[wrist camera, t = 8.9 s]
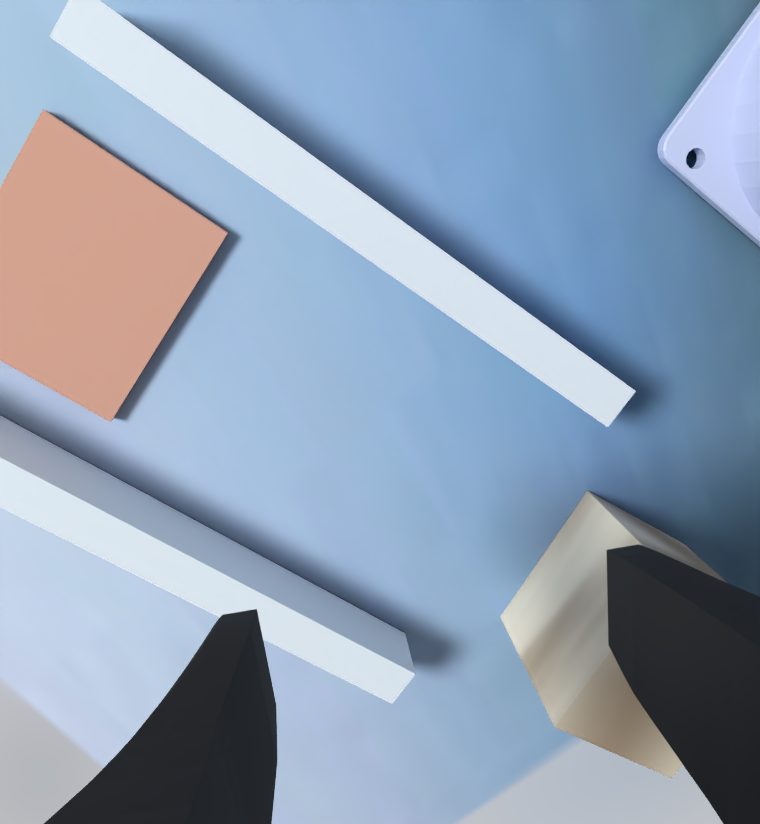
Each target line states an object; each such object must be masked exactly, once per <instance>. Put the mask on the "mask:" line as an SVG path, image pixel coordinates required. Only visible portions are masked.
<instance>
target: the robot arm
mask: <svg viewBox="0 0 760 824" xmlns="http://www.w3.org/2000/svg"><path fill="white" fill-rule="evenodd" d="M691 150H694V151H695V153H696V155H697V161H696V163H695V165H694V166H693V167H692V168H689V167H688V165H687V163H686V157H687V154H688V152H689V151H691ZM657 152H658V156H659V159H660V160H661V162H662V163H663V164H664V165H665V166H666V167H667V168H668V169H670V170H671V171H672V172H673V173H674V174H675V175H677V176H678V177H679V178H680V179H681V180H682V181H684V182H685V183H686V184H687V185H688V186H689V187H690V188H692V189H693V190H694V191H695V192H696V193H697V194H699V195H700V196H701V197H702V198H703V199H704V200H706V201H707V202H708V203H709V204H710V205H711V206H713V207H714V208H715V209H716V210H717V211H718V212H720V213H721V214H722V215H723V216H724V217H725V218H727V219H728V220H729V221H730V222H731V223H732V224H734V225H735V226H736V227H737V228H738V229H739V230H741V231H742V232H743V233H744V234H745V235H746V236H748V237H749V238H750V239H751V240H752V241H753V242H755V243H756V244H757V245H758V246H759V247H760V2H759V4H758V5H757V6H756V8H755V9H754V11H753V12H752V13H751V15H750V16H749V17H748V19H747V20H746V22H745V23H744V24H743V26H742V27H741V28H740V30H739V31H738V33H737V34H736V35H735V37H734V38H733V39H732V41H731V42H730V44H729V45H728V46H727V48H726V49H725V50H724V52H723V53H722V54H721V56H720V57H719V59H718V60H717V61H716V63H715V64H714V65H713V67H712V68H711V70H710V71H709V72H708V74H707V75H706V76H705V78H704V79H703V81H702V82H701V83H700V85H699V86H698V87H697V89H696V90H695V92H694V93H693V94H692V96H691V97H690V98H689V100H688V101H687V102H686V104H685V105H684V107H683V108H682V109H681V111H680V112H679V113H678V115H677V116H676V118H675V119H674V120H673V122H672V123H671V124H670V126H669V127H668V129H667V130H666V131H665V133H664V134H663V135H662V137H661V139H660V141H659V143H658V150H657ZM607 597H608V645H609V647H610V649H611V651H612V653H613V655H614V657H615V659H616V661H617V663H618V665H619V667H620V669H621V671H622V673H623V675H624V677H625V678H626V680H627V682H628V684H629V686H630V688H631V690H632V691H633V693H634V695H635V696H636V698H637V699H638V701H639V702H640V704H641V705H642V707H643V708H644V710H645V711H646V712H647V714H648V715H649V717H650V718H651V720H652V721H653V723H654V724H655V725H656V727H657V728H658V730H659V731H660V733H661V734H662V735H663V737H664V738H665V740H666V741H667V743H668V744H669V745H670V747H671V748H672V750H673V751H674V752H675V754H676V755H677V757H678V758H679V760H680V761H681V762H682V764H683V765H684V766H685V768H686V769H687V771H688V772H689V773H690V775H691V777H692V778H693V779H694V781H695V782H696V784H697V785H698V786H699V788H700V789H701V791H702V792H703V793H704V795H705V796H706V798H707V799H708V801H709V802H710V803H711V805H712V807H713V808H714V810H715V811H716V812H717V814H718V816H719V817H720V819H721V820H722V822H723V823H724V824H760V597H758V596H756V595H754V594H751V593H749V592H747V591H744V590H742V589H740V588H737V587H735V586H733V585H731V584H728V583H726V582H724V581H722V580H719V579H717V578H715V577H713V576H711V575H708V574H706V573H704V572H702V571H700V570H697V569H695V568H693V567H691V566H689V565H687V564H684V563H682V562H680V561H678V560H676V559H673V558H671V557H669V556H667V555H664V554H662V553H660V552H657V551H655V550H653V549H650V548H648V547H645V546H642V545H639V544H638V545H632V546H626V547H620V548H614V549H608V550H607ZM276 768H277V724H276V702H275V697H274V692H273V687H272V682H271V677H270V672H269V667H268V662H267V657H266V652H265V647H264V642H263V637H262V632H261V627H260V622H259V617H258V612H257V609H254V610H248V611H242V612H236V613H230V614H224V615H222V616H221V617H220V618H219V619H218V621H217V622H216V623H215V625H214V626H213V628H212V629H211V631H210V633H209V634H208V636H207V637H206V639H205V640H204V642H203V643H202V645H201V646H200V648H199V649H198V651H197V652H196V654H195V655H194V657H193V658H192V660H191V661H190V663H189V664H188V666H187V667H186V668H185V670H184V671H183V673H182V674H181V675H180V677H179V678H178V680H177V681H176V682H175V684H174V685H173V687H172V688H171V689H170V691H169V692H168V694H167V695H166V696H165V698H164V699H163V700H162V702H161V703H160V704H159V705H158V707H157V708H156V709H155V710H154V711H153V713H152V714H151V715H150V716H149V718H148V719H147V720H146V721H145V723H144V724H143V725H142V726H141V728H140V729H139V730H138V731H137V733H136V734H135V735H134V736H133V737H132V739H131V740H130V741H129V742H128V743H127V744H126V745H125V746H124V748H123V749H122V750H121V751H120V752H119V753H118V754H117V755H116V756H115V757H114V758H113V759H112V760H111V761H110V762H109V763H108V764H107V765H106V766H105V767H104V768H103V770H102V771H101V772H100V773H99V774H98V775H97V776H96V777H95V778H94V779H93V780H92V781H91V782H90V783H89V784H88V785H86V786H85V787H84V788H83V789H82V790H81V791H80V792H79V793H78V794H76V795H75V796H74V797H73V798H72V799H71V800H70V801H69V802H68V803H66V804H65V805H64V806H63V807H62V808H61V809H60V810H59V811H58V812H57V813H55V814H54V815H53V816H52V817H51V818H50V819H49V820H48V821H47V822H45V823H44V824H271V821H272V810H273V800H274V789H275V779H276Z"/></svg>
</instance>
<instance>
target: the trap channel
mask: <svg viewBox="0 0 760 824" xmlns="http://www.w3.org/2000/svg"><path fill="white" fill-rule="evenodd" d="M49 37H51V38H52V39H53V40H55V41H56V42H58V43H59V44H61V45H62V46H63V47H65V48H66V49H68V50H69V51H71V52H72V53H73V54H75V55H76V56H78V57H79V58H81V59H82V60H83V61H85V62H86V63H88V64H89V65H91V66H92V67H93V68H95V69H96V70H98V71H99V72H101V73H102V74H103V75H105V76H106V77H108V78H109V79H111V80H112V81H113V82H115V83H116V84H118V85H119V86H121V87H122V88H123V89H125V90H126V91H128V92H129V93H131V94H132V95H133V96H135V97H136V98H138V99H139V100H141V101H142V102H144V103H145V104H146V105H148V106H149V107H151V108H152V109H154V110H155V111H156V112H158V113H159V114H161V115H162V116H164V117H165V118H166V119H168V120H169V121H171V122H172V123H174V124H175V125H176V126H178V127H179V128H181V129H182V130H184V131H185V132H186V133H188V134H189V135H191V136H192V137H194V138H195V139H196V140H198V141H199V142H201V143H202V144H204V145H205V146H206V147H208V148H209V149H211V150H212V151H214V152H215V153H216V154H218V155H219V156H221V157H222V158H224V159H225V160H226V161H228V162H229V163H231V164H232V165H234V166H235V167H236V168H238V169H239V170H241V171H242V172H244V173H245V174H246V175H248V176H249V177H251V178H252V179H254V180H255V181H256V182H258V183H259V184H261V185H262V186H264V187H265V188H266V189H268V190H269V191H271V192H272V193H274V194H275V195H276V196H278V197H279V198H281V199H282V200H284V201H285V202H286V203H288V204H289V205H291V206H292V207H294V208H295V209H296V210H298V211H299V212H301V213H302V214H304V215H305V216H306V217H308V218H309V219H311V220H312V221H314V222H315V223H316V224H318V225H319V226H321V227H322V228H324V229H325V230H326V231H328V232H329V233H331V234H332V235H334V236H335V237H336V238H338V239H339V240H341V241H342V242H344V243H345V244H346V245H348V246H349V247H351V248H352V249H354V250H355V251H357V252H358V253H359V254H361V255H362V256H364V257H365V258H367V259H368V260H369V261H371V262H372V263H374V264H375V265H377V266H378V267H379V268H381V269H382V270H384V271H385V272H387V273H388V274H389V275H391V276H392V277H394V278H395V279H397V280H398V281H399V282H401V283H402V284H404V285H405V286H407V287H408V288H409V289H411V290H412V291H414V292H415V293H417V294H418V295H419V296H421V297H422V298H424V299H425V300H427V301H428V302H429V303H431V304H432V305H434V306H435V307H437V308H438V309H439V310H441V311H442V312H444V313H445V314H447V315H448V316H449V317H451V318H452V319H454V320H455V321H457V322H458V323H459V324H461V325H462V326H464V327H465V328H467V329H468V330H469V331H471V332H472V333H474V334H475V335H477V336H478V337H479V338H481V339H482V340H484V341H485V342H487V343H488V344H489V345H491V346H492V347H494V348H495V349H497V350H498V351H499V352H501V353H502V354H504V355H505V356H507V357H508V358H509V359H511V360H512V361H514V362H515V363H517V364H518V365H519V366H521V367H522V368H524V369H525V370H527V371H528V372H529V373H531V374H532V375H534V376H535V377H537V378H538V379H539V380H541V381H542V382H544V383H545V384H547V385H548V386H549V387H551V388H552V389H554V390H555V391H557V392H558V393H559V394H561V395H562V396H564V397H565V398H567V399H568V400H570V401H571V402H572V403H574V404H575V405H577V406H578V407H580V408H581V409H582V410H584V411H585V412H587V413H588V414H590V415H591V416H592V417H594V418H595V419H597V420H598V421H600V422H601V423H602V424H604V425H605V426H607V427H608V426H609V425H610V424H611V423H612V421H613V420H614V419H615V417H616V416H617V415H618V414H619V412H620V411H621V410H622V408H623V407H624V406H625V405H626V403H627V402H628V401H629V399H630V398H631V397H632V396H633V394H634V393H635V392H636V391H635V390H634V389H632V388H631V387H630V386H628V385H627V384H625V383H624V382H623V381H621V380H620V379H619V378H617V377H616V376H614V375H613V374H612V373H610V372H609V371H608V370H606V369H605V368H603V367H602V366H601V365H599V364H598V363H597V362H595V361H594V360H592V359H591V358H590V357H588V356H587V355H586V354H584V353H583V352H582V351H580V350H579V349H577V348H576V347H575V346H573V345H572V344H571V343H569V342H568V341H566V340H565V339H564V338H562V337H561V336H560V335H558V334H557V333H555V332H554V331H553V330H551V329H550V328H549V327H547V326H546V325H544V324H543V323H542V322H540V321H539V320H538V319H536V318H535V317H533V316H532V315H531V314H529V313H528V312H527V311H525V310H524V309H522V308H521V307H520V306H518V305H517V304H516V303H514V302H513V301H512V300H510V299H509V298H507V297H506V296H505V295H503V294H502V293H501V292H499V291H498V290H496V289H495V288H494V287H492V286H491V285H490V284H488V283H487V282H485V281H484V280H483V279H481V278H480V277H479V276H477V275H476V274H474V273H473V272H472V271H470V270H469V269H468V268H466V267H465V266H463V265H462V264H461V263H459V262H458V261H457V260H455V259H454V258H452V257H451V256H450V255H448V254H447V253H446V252H444V251H443V250H442V249H440V248H439V247H437V246H436V245H435V244H433V243H432V242H431V241H429V240H428V239H426V238H425V237H424V236H422V235H421V234H420V233H418V232H417V231H415V230H414V229H413V228H411V227H410V226H409V225H407V224H406V223H404V222H403V221H402V220H400V219H399V218H398V217H396V216H395V215H393V214H392V213H391V212H389V211H388V210H387V209H385V208H384V207H382V206H381V205H380V204H378V203H377V202H376V201H374V200H373V199H372V198H370V197H369V196H367V195H366V194H365V193H363V192H362V191H361V190H359V189H358V188H356V187H355V186H354V185H352V184H351V183H350V182H348V181H347V180H345V179H344V178H343V177H341V176H340V175H339V174H337V173H336V172H334V171H333V170H332V169H330V168H329V167H328V166H326V165H325V164H323V163H322V162H321V161H319V160H318V159H317V158H315V157H314V156H312V155H311V154H310V153H308V152H307V151H306V150H304V149H303V148H302V147H300V146H299V145H297V144H296V143H295V142H293V141H292V140H291V139H289V138H288V137H286V136H285V135H284V134H282V133H281V132H280V131H278V130H277V129H275V128H274V127H273V126H271V125H270V124H269V123H267V122H266V121H264V120H263V119H262V118H260V117H259V116H258V115H256V114H255V113H253V112H252V111H251V110H249V109H248V108H247V107H245V106H244V105H242V104H241V103H240V102H238V101H237V100H236V99H234V98H233V97H231V96H230V95H229V94H227V93H226V92H225V91H223V90H222V89H221V88H219V87H218V86H216V85H215V84H214V83H212V82H211V81H210V80H208V79H207V78H205V77H204V76H203V75H201V74H200V73H199V72H197V71H196V70H194V69H193V68H192V67H190V66H189V65H188V64H186V63H185V62H183V61H182V60H181V59H179V58H178V57H177V56H175V55H174V54H172V53H171V52H170V51H168V50H167V49H166V48H164V47H163V46H161V45H160V44H159V43H157V42H156V41H155V40H153V39H152V38H151V37H149V36H148V35H146V34H145V33H144V32H142V31H141V30H140V29H138V28H137V27H135V26H134V25H133V24H131V23H130V22H129V21H127V20H126V19H124V18H123V17H122V16H120V15H119V14H118V13H116V12H115V11H113V10H112V9H111V8H109V7H108V6H107V5H105V4H104V3H102V2H101V1H100V0H69V1H68V3H67V5H66V7H65V8H64V10H63V12H62V14H61V16H60V18H59V20H58V21H57V23H56V25H55V27H54V29H53V31H52V33H51V35H50V36H49ZM227 234H228V232H227V231H225V230H224V229H222V228H221V227H219V226H218V225H216V224H215V223H213V222H212V221H210V220H209V219H207V218H206V217H204V216H203V215H201V214H200V213H198V212H197V211H195V210H194V209H192V208H191V207H189V206H188V205H186V204H185V203H183V202H182V201H180V200H179V199H178V198H176V197H175V196H173V195H172V194H170V193H169V192H167V191H166V190H164V189H163V188H161V187H160V186H158V185H157V184H155V183H154V182H152V181H151V180H149V179H148V178H146V177H145V176H143V175H142V174H140V173H139V172H137V171H136V170H134V169H133V168H131V167H130V166H128V165H127V164H125V163H124V162H122V161H121V160H119V159H118V158H116V157H115V156H113V155H112V154H110V153H109V152H107V151H106V150H104V149H103V148H101V147H100V146H98V145H97V144H95V143H94V142H92V141H91V140H89V139H88V138H86V137H85V136H83V135H82V134H80V133H79V132H77V131H76V130H74V129H73V128H71V127H70V126H68V125H67V124H65V123H64V122H62V121H61V120H59V119H58V118H56V117H55V116H53V115H52V114H50V113H49V112H48V111H45V110H43V111H42V112H41V114H40V116H39V118H38V120H37V122H36V123H35V125H34V127H33V129H32V131H31V133H30V134H29V136H28V138H27V140H26V142H25V144H24V145H23V147H22V149H21V151H20V153H19V155H18V156H17V158H16V160H15V162H14V164H13V166H12V167H11V169H10V171H9V173H8V175H7V177H6V179H5V180H4V182H3V184H2V186H1V188H0V360H1V361H3V362H4V363H6V364H8V365H10V366H12V367H13V368H15V369H17V370H19V371H20V372H22V373H24V374H26V375H28V376H29V377H31V378H33V379H35V380H37V381H38V382H40V383H42V384H44V385H45V386H47V387H49V388H51V389H53V390H54V391H56V392H58V393H60V394H62V395H63V396H65V397H67V398H69V399H70V400H72V401H74V402H76V403H78V404H79V405H81V406H83V407H85V408H87V409H88V410H90V411H92V412H94V413H96V414H97V415H99V416H101V417H103V418H104V419H106V420H108V421H110V422H111V421H112V420H113V418H114V417H115V415H116V413H117V412H118V410H119V409H120V407H121V405H122V404H123V402H124V401H125V399H126V397H127V396H128V394H129V392H130V391H131V389H132V388H133V386H134V384H135V383H136V381H137V380H138V378H139V376H140V375H141V373H142V372H143V370H144V368H145V367H146V365H147V363H148V362H149V360H150V359H151V357H152V355H153V354H154V352H155V351H156V349H157V347H158V346H159V344H160V342H161V341H162V339H163V338H164V336H165V334H166V333H167V331H168V330H169V328H170V326H171V325H172V323H173V322H174V320H175V318H176V317H177V315H178V313H179V312H180V310H181V309H182V307H183V305H184V304H185V302H186V301H187V299H188V297H189V296H190V294H191V292H192V291H193V289H194V288H195V286H196V284H197V283H198V281H199V280H200V278H201V276H202V275H203V273H204V272H205V270H206V268H207V267H208V265H209V263H210V262H211V260H212V259H213V257H214V255H215V254H216V252H217V251H218V249H219V247H220V246H221V244H222V242H223V241H224V239H225V238H226V236H227ZM0 507H1V508H3V509H5V510H7V511H9V512H11V513H13V514H15V515H17V516H19V517H21V518H23V519H25V520H27V521H29V522H31V523H33V524H35V525H37V526H39V527H41V528H43V529H45V530H47V531H49V532H51V533H53V534H55V535H57V536H59V537H61V538H63V539H65V540H67V541H69V542H71V543H73V544H75V545H77V546H79V547H81V548H82V549H84V550H86V551H88V552H90V553H92V554H94V555H96V556H98V557H100V558H102V559H104V560H106V561H108V562H110V563H112V564H114V565H116V566H118V567H120V568H122V569H124V570H126V571H128V572H130V573H132V574H134V575H136V576H138V577H140V578H142V579H144V580H146V581H148V582H150V583H152V584H154V585H156V586H158V587H160V588H162V589H164V590H166V591H168V592H170V593H172V594H174V595H176V596H178V597H180V598H182V599H184V600H186V601H188V602H190V603H192V604H194V605H196V606H198V607H200V608H202V609H204V610H206V611H208V612H210V613H212V614H214V615H216V616H218V617H221V616H222V615H224V614H230V613H236V612H242V611H248V610H254V609H257V612H258V617H259V622H260V627H261V632H262V637H263V639H264V640H266V641H268V642H270V643H272V644H274V645H276V646H278V647H280V648H282V649H284V650H286V651H288V652H290V653H292V654H294V655H296V656H298V657H300V658H302V659H304V660H306V661H308V662H310V663H312V664H313V665H315V666H317V667H319V668H321V669H323V670H325V671H327V672H329V673H331V674H333V675H335V676H337V677H339V678H341V679H343V680H345V681H347V682H349V683H351V684H353V685H355V686H357V687H359V688H361V689H363V690H365V691H367V692H369V693H371V694H373V695H375V696H377V697H379V698H381V699H383V700H385V701H387V702H389V703H391V704H392V703H393V702H394V701H395V700H396V698H397V697H398V696H399V694H400V693H401V692H402V691H403V689H404V688H405V687H406V685H407V684H408V683H409V682H410V680H411V679H412V678H413V676H414V675H415V670H414V666H413V662H412V658H411V655H410V651H409V647H408V643H407V639H406V635H405V633H404V632H402V631H400V630H398V629H396V628H394V627H392V626H391V625H389V624H387V623H385V622H383V621H381V620H379V619H378V618H376V617H374V616H372V615H370V614H368V613H366V612H365V611H363V610H361V609H359V608H357V607H355V606H353V605H352V604H350V603H348V602H346V601H344V600H342V599H340V598H339V597H337V596H335V595H333V594H331V593H329V592H327V591H326V590H324V589H322V588H320V587H318V586H316V585H314V584H313V583H311V582H309V581H307V580H305V579H303V578H301V577H300V576H298V575H296V574H294V573H292V572H290V571H288V570H287V569H285V568H283V567H281V566H279V565H277V564H275V563H274V562H272V561H270V560H268V559H266V558H264V557H262V556H261V555H259V554H257V553H255V552H253V551H251V550H249V549H247V548H246V547H244V546H242V545H240V544H238V543H236V542H234V541H233V540H231V539H229V538H227V537H225V536H223V535H221V534H220V533H218V532H216V531H214V530H212V529H210V528H208V527H207V526H205V525H203V524H201V523H199V522H197V521H195V520H194V519H192V518H190V517H188V516H186V515H184V514H182V513H181V512H179V511H177V510H175V509H173V508H171V507H169V506H168V505H166V504H164V503H162V502H160V501H158V500H156V499H155V498H153V497H151V496H149V495H147V494H145V493H143V492H142V491H140V490H138V489H136V488H134V487H132V486H130V485H129V484H127V483H125V482H123V481H121V480H119V479H117V478H116V477H114V476H112V475H110V474H108V473H106V472H104V471H103V470H101V469H99V468H97V467H95V466H93V465H91V464H90V463H88V462H86V461H84V460H82V459H80V458H78V457H76V456H75V455H73V454H71V453H69V452H67V451H65V450H63V449H62V448H60V447H58V446H56V445H54V444H52V443H50V442H49V441H47V440H45V439H43V438H41V437H39V436H37V435H36V434H34V433H32V432H30V431H28V430H26V429H24V428H23V427H21V426H19V425H17V424H15V423H13V422H11V421H10V420H8V419H6V418H4V417H2V416H0Z"/></svg>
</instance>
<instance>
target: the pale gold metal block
mask: <svg viewBox="0 0 760 824" xmlns="http://www.w3.org/2000/svg"><path fill="white" fill-rule="evenodd" d="M638 544H639V545H642V546H645V547H648V548H650V549H653V550H655V551H657V552H660V553H662V554H664V555H667V556H669V557H671V558H673V559H676V560H678V561H680V562H682V563H684V564H687V565H689V566H691V567H693V568H695V569H697V570H700V571H702V572H704V573H706V574H708V575H711V576H713V577H715V578H717V579H719V580H722V581H724V582H726V581H725V580H724V579H723V578H722V577H721V576H720V575H719V574H717V573H716V572H715V571H714V570H713V569H712V568H711V567H710V566H708V565H707V564H706V563H705V562H704V561H703V560H702V559H700V558H699V557H698V556H697V555H696V554H695V553H694V552H693V551H691V550H690V549H689V548H688V547H687V546H686V545H685V544H683V543H682V542H680V541H678V540H676V539H674V538H673V537H671V536H669V535H667V534H665V533H663V532H662V531H660V530H658V529H656V528H654V527H653V526H651V525H649V524H647V523H645V522H644V521H642V520H640V519H638V518H636V517H634V516H633V515H631V514H629V513H627V512H625V511H624V510H622V509H620V508H618V507H616V506H615V505H613V504H611V503H609V502H607V501H605V500H604V499H602V498H600V497H598V496H596V495H595V494H593V493H591V492H589V491H587V492H586V494H585V495H584V497H583V498H582V499H581V501H580V502H579V504H578V505H577V507H576V508H575V510H574V511H573V512H572V514H571V515H570V517H569V518H568V520H567V521H566V523H565V524H564V525H563V527H562V528H561V530H560V531H559V533H558V534H557V536H556V537H555V538H554V540H553V541H552V543H551V544H550V546H549V547H548V549H547V550H546V551H545V553H544V554H543V556H542V557H541V559H540V560H539V562H538V563H537V564H536V566H535V567H534V569H533V570H532V572H531V573H530V575H529V576H528V577H527V579H526V580H525V582H524V583H523V585H522V586H521V588H520V589H519V590H518V592H517V593H516V595H515V596H514V598H513V599H512V601H511V602H510V603H509V605H508V606H507V608H506V609H505V611H504V612H503V614H502V615H501V616H500V617H501V619H502V621H503V623H504V625H505V627H506V629H507V631H508V633H509V635H510V637H511V639H512V642H513V644H514V646H515V648H516V650H517V652H518V654H519V656H520V658H521V660H522V662H523V664H524V666H525V668H526V670H527V672H528V674H529V676H530V678H531V680H532V682H533V684H534V686H535V688H536V690H537V692H538V694H539V696H540V698H541V700H542V702H543V704H544V706H545V708H546V710H547V712H548V714H549V716H550V719H551V721H552V723H553V725H554V727H555V728H558V729H560V730H562V731H565V732H567V733H569V734H571V735H574V736H576V737H578V738H581V739H583V740H585V741H587V742H590V743H592V744H594V745H597V746H599V747H601V748H603V749H606V750H608V751H610V752H613V753H615V754H617V755H620V756H622V757H624V758H627V759H629V760H631V761H633V762H636V763H638V764H640V765H642V766H645V767H647V768H649V769H652V770H654V771H656V772H659V773H661V774H663V775H665V776H668V777H670V778H672V777H673V776H674V775H675V774H676V772H677V771H678V770H679V769H680V767H681V766H682V765H683V764H682V762H681V761H680V760H679V758H678V757H677V755H676V754H675V752H674V751H673V750H672V748H671V747H670V745H669V744H668V743H667V741H666V740H665V738H664V737H663V735H662V734H661V733H660V731H659V730H658V728H657V727H656V725H655V724H654V723H653V721H652V720H651V718H650V717H649V715H648V714H647V712H646V711H645V710H644V708H643V707H642V705H641V704H640V702H639V701H638V699H637V698H636V696H635V695H634V693H633V691H632V690H631V688H630V686H629V684H628V682H627V680H626V678H625V677H624V675H623V673H622V671H621V669H620V667H619V665H618V663H617V661H616V659H615V657H614V655H613V653H612V651H611V649H610V647H609V645H608V597H607V550H608V549H614V548H620V547H626V546H632V545H638ZM726 583H728V582H726ZM728 584H729V583H728Z"/></svg>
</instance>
